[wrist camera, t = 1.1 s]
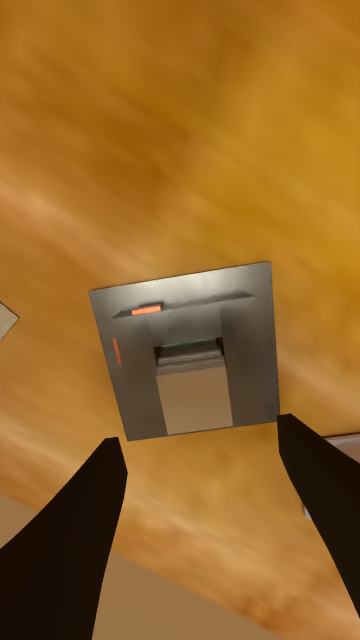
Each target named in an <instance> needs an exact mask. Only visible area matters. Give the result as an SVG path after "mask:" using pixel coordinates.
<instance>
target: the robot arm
mask: <svg viewBox="0 0 360 640" xmlns="http://www.w3.org/2000/svg"><path fill="white" fill-rule="evenodd" d="M277 427H278V442H279V454H280V456H281V459H282V461H283V464H284V466H285V468H286V471H287V473H288V475H289V478H290V480H291V482H292V484H293V485H294V487H295V489H296V491H297V493H298V495H299V497H300V498H301V500H302V502H303V509H304V515H305V517H306V518H307V519H312V520H313V522H314V524H315V526H316V528H317V530H318V531H319V533H320V535H321V537H322V539H323V541H324V542H325V544H326V546H327V548H328V550H329V552H330V554H331V556H332V558H333V560H334V562H335V565H336V567H337V569H338V571H339V573H340V576H341V578H342V580H343V582H344V584H345V586H346V589H347V591H348V593H349V595H350V597H351V600H352V602H353V604H354V606H355V609H356V611H357V613H358V615H359V618H360V434H355V435H347V436H339V437H331V438H322V437H321V436H320V435H318V434H317V433H316V432H314V431H313V430H312V429H310V428H309V427H308V426H306V425H305V424H304V423H303V422H301V421H300V420H299V419H297V418H296V417H295V416H293V415H292V414H284V415H277ZM127 474H128V472H127V468H126V464H125V461H124V457H123V453H122V450H121V446H120V442H119V439H118V437H113V438H105V439H104V440H103V441H102V443H101V444H100V445H99V446H98V447H97V448H96V450H95V451H94V452H93V453H92V454H91V456H90V457H89V458H88V459H87V460H86V462H85V463H84V464H83V465H82V466H81V467H80V469H79V470H78V471H77V472H76V473H75V474H74V476H73V477H72V478H71V479H70V480H69V481H68V482H67V484H66V485H65V486H64V487H63V488H62V489H61V490H60V491H59V492H58V493H57V494H56V495H55V497H54V498H53V499H52V500H51V501H50V502H49V503H48V504H47V505H46V506H45V507H44V508H43V509H42V510H41V511H40V512H39V513H38V514H37V515H36V516H35V517H34V518H33V519H32V520H31V521H30V522H29V523H28V524H27V525H26V526H25V527H24V528H23V529H22V530H21V531H20V532H19V533H18V534H17V535H16V536H15V537H13V538H12V539H11V540H10V541H9V542H8V543H7V544H6V545H4V546H3V547H2V548H1V549H0V640H92V634H93V629H94V623H95V618H96V613H97V608H98V602H99V597H100V592H101V587H102V582H103V578H104V573H105V569H106V565H107V561H108V557H109V554H110V550H111V546H112V542H113V538H114V535H115V531H116V527H117V523H118V519H119V516H120V512H121V508H122V504H123V500H124V494H125V488H126V481H127Z"/></svg>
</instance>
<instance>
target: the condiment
mask: <svg viewBox="0 0 360 640" xmlns="http://www.w3.org/2000/svg"><path fill="white" fill-rule="evenodd" d="M17 319H18V317H17V316H16V315H15V314H13V313H12V312H11V311H9V310H8V309H7V308H6V307H5V306H4V305H3V304H1V303H0V340H1V339H2V338H3V336H4V335H5V334H6V333H7V332H8V331H9V330H10V328H11V327H12V325H13V324H14V323H15V322H16V321H17Z"/></svg>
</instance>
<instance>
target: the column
mask: <svg viewBox="0 0 360 640" xmlns="http://www.w3.org/2000/svg"><path fill="white" fill-rule="evenodd" d="M156 372H157V373H156V380H157V385H158V389H159V394H160V399H161V404H162V409H163V414H164V418H165V423H166V428H167V433H168V435H170V434H178V433H185V432H193V431H200V430H208V429H216V428H223V427H231V426H233V422H232V414H231V406H230V397H229V389H228V381H227V373H226V366H225V360H224V356H222V355H221V349H220V348H218V347H217V345H216V341H215V338H211V339H204V340H197V341H191V342H184V343H177V344H171V345H164V346H162V351H161V355H160V357H158V365H156Z"/></svg>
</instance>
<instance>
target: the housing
mask: <svg viewBox="0 0 360 640" xmlns="http://www.w3.org/2000/svg"><path fill="white" fill-rule="evenodd" d="M88 293H89V296H90V300H91V304H92V308H93V312H94V315H95V319H96V323H97V327H98V331H99V335H100V338H101V342H102V346H103V350H104V354H105V358H106V361H107V365H108V369H109V373H110V377H111V380H112V384H113V388H114V392H115V396H116V400H117V403H118V407H119V411H120V415H121V419H122V423H123V426H124V430H125V434H126V438H127V441H134V440H142V439H149V438H157V437H165V436H172V435H180V434H187V433H195V432H202V431H210V430H218V429H225V428H233V427H240V426H248V425H255V424H263V423H271V422H277V415H280V404H279V388H278V372H277V355H276V339H275V323H274V306H273V290H272V274H271V261H266V262H260V263H254V264H248V265H242V266H235V267H229V268H223V269H217V270H211V271H205V272H199V273H193V274H187V275H181V276H175V277H169V278H163V279H156V280H150V281H144V282H138V283H132V284H126V285H120V286H114V287H108V288H102V289H96V290H91V291H88ZM217 337H218V343H219V348H220V349H221V355H222V356H224V360H225V366H226V373H227V381H228V389H229V397H230V406H231V414H232V422H233V426H231V427H223V428H216V429H208V430H200V431H193V432H185V433H178V434H170V435H168V433H167V428H166V423H165V418H164V414H163V409H162V404H161V399H160V394H159V389H158V385H157V380H156V373H157V372H156V365H158V357H160V355H161V350H160V346H164V345H171V344H177V343H184V342H191V341H197V340H204V339H211V338H217Z"/></svg>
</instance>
